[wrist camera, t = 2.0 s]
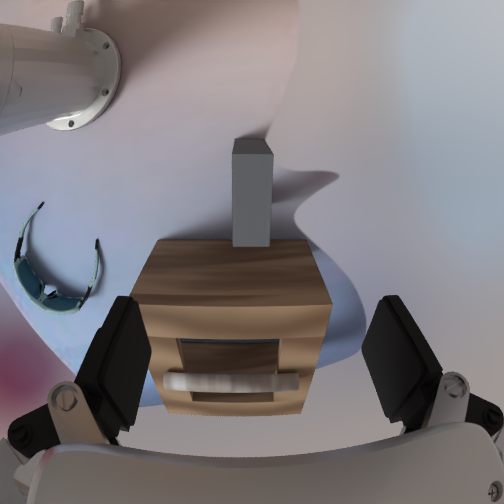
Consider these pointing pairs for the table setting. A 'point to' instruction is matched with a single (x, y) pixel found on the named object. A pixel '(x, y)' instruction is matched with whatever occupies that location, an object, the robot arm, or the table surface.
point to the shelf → (233, 325)
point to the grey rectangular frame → (251, 192)
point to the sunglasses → (36, 287)
